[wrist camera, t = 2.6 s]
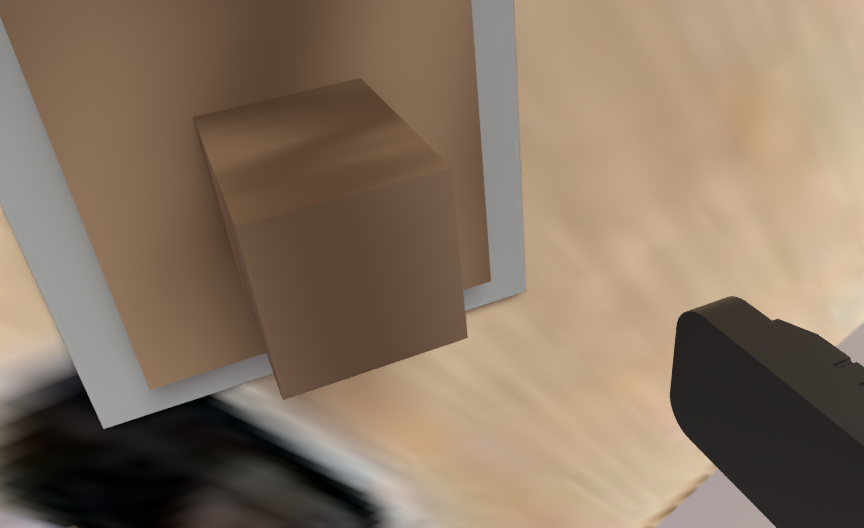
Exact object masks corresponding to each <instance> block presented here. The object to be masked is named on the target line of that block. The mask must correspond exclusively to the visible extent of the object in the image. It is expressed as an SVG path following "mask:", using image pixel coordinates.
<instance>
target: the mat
mask: <svg viewBox="0 0 864 528" xmlns="http://www.w3.org/2000/svg"><path fill="white" fill-rule="evenodd" d="M471 3H472V17H473V31H474V45H475V60H476V74H477V88H478V102H479V116H480V130H481V145H482V159H483V173H484V187H485V201H486V215H487V229H488V244H489V258H490V272H491V281H490V282H487V283H484V284H481V285H478V286H475V287H472V288H468V289H465V290H463V295H464V305H465V311H467V310H470V309H473V308H476V307H479V306H482V305H485V304H488V303H491V302H494V301H497V300H500V299H503V298H507V297H510V296H513V295H516V294H519V293H522V292H525V291H526V287H525V263H524V239H523V215H522V191H521V167H520V142H519V118H518V94H517V70H516V46H515V22H514V0H471ZM0 205H1V207H2V209H3V211H4V213H5V216H6V218H7V220H8V222H9V224H10V226H11V229H12V231H13V233H14V235H15V237H16V239H17V242H18V244H19V246H20V248H21V250H22V252H23V255H24V257H25V259H26V261H27V263H28V266H29V268H30V270H31V272H32V274H33V276H34V279H35V281H36V283H37V285H38V287H39V289H40V292H41V294H42V296H43V298H44V300H45V302H46V305H47V307H48V309H49V311H50V313H51V315H52V318H53V320H54V322H55V324H56V326H57V328H58V331H59V333H60V335H61V337H62V339H63V342H64V344H65V346H66V348H67V350H68V352H69V355H70V357H71V359H72V361H73V363H74V365H75V368H76V370H77V372H78V374H79V376H80V378H81V381H82V383H83V385H84V387H85V389H86V391H87V394H88V396H89V398H90V400H91V402H92V404H93V407H94V409H95V411H96V413H97V415H98V418H99V420H100V422H101V424H102V426H103V428H104V429H105V428H108V427H111V426H114V425H118V424H121V423H124V422H127V421H130V420H133V419H136V418H139V417H142V416H145V415H148V414H151V413H154V412H157V411H160V410H163V409H167V408H170V407H173V406H176V405H179V404H182V403H185V402H188V401H191V400H194V399H197V398H200V397H203V396H206V395H209V394H212V393H216V392H219V391H222V390H225V389H228V388H231V387H234V386H237V385H240V384H243V383H246V382H249V381H252V380H255V379H258V378H262V377H265V376H268V375H271V374H274V373H273V370H272V367H271V365H270V362H269V359H268V356H267V353H265V354H261V355H258V356H255V357H252V358H249V359H246V360H243V361H239V362H236V363H233V364H230V365H227V366H224V367H221V368H217V369H214V370H211V371H208V372H205V373H202V374H199V375H195V376H192V377H189V378H186V379H183V380H180V381H177V382H174V383H170V384H167V385H164V386H161V387H158V388H155V389H152V390H149V387H148V385H147V382H146V380H145V377H144V375H143V372H142V370H141V367H140V365H139V362H138V360H137V357H136V355H135V352H134V350H133V347H132V345H131V342H130V340H129V337H128V335H127V332H126V330H125V327H124V325H123V322H122V320H121V317H120V315H119V312H118V310H117V307H116V305H115V302H114V300H113V297H112V295H111V292H110V290H109V287H108V285H107V282H106V280H105V277H104V275H103V272H102V270H101V267H100V265H99V262H98V260H97V257H96V255H95V252H94V250H93V247H92V245H91V242H90V240H89V237H88V235H87V232H86V230H85V227H84V225H83V222H82V220H81V217H80V215H79V212H78V210H77V207H76V205H75V202H74V200H73V197H72V195H71V192H70V190H69V187H68V185H67V182H66V180H65V177H64V175H63V172H62V170H61V167H60V165H59V162H58V160H57V157H56V155H55V152H54V150H53V147H52V145H51V142H50V140H49V137H48V135H47V132H46V130H45V127H44V125H43V122H42V120H41V117H40V115H39V112H38V110H37V107H36V105H35V102H34V100H33V97H32V95H31V92H30V90H29V87H28V85H27V82H26V80H25V77H24V75H23V72H22V70H21V67H20V65H19V62H18V60H17V57H16V55H15V52H14V50H13V47H12V45H11V42H10V40H9V37H8V35H7V32H6V30H5V27H4V25H3V22H2V20H1V17H0Z"/></svg>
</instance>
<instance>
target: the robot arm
mask: <svg viewBox="0 0 864 528" xmlns="http://www.w3.org/2000/svg"><path fill="white" fill-rule="evenodd" d="M670 401H671V406H672V410H673V413H674V416H675V418H676V420H677V422H678V424H679V426H680V428H681V429H682V431H683V432H684V433H685V435H686V436H687V437H688V438H689V439H690V440H691V441H692V442H693V443H694V444H695V445H696V446H697V447H698V448H699V449H700V450H701V451H702V452H703V453H704V454H705V455H706V456H707V457H708V458H709V459H710V460H711V461H712V462H713V464H714V465H715V466H716V467H717V468H718V469H719V470H721V472H722V473H723V474H724V475H725V476H726V477H727V478H728V479H729V480H730V481H731V482H732V483H733V484H734V485H735V486H736V487H737V488H738V489H739V490H740V491H741V492H742V493H743V494H744V495H745V496H746V497H747V498H748V499H749V500H750V501H751V502H752V503H753V504H754V505H755V506H756V507H757V508H758V509H759V510H760V511H761V512H762V513H763V514H764V515H765V516H766V517H767V518H768V519H769V520H770V521H771V522H772V523H773V524H774V525H775V527H776V528H864V367H863V366H862V365H860V364H859V363H857V362H856V363H852V362H851V360H850V357H849V356H847V355H846V354H845V353H843V352H842V351H840V350H839V349H838V348H836V347H835V346H833V345H832V344H830V343H829V342H828V341H826V340H825V339H823V338H822V337H821V336H819V335H818V334H815V333H813V332H810V331H808V330H805V329H802V328H800V327H797V326H795V325H792V324H790V323H787V322H785V321H782V320H779V319H776V320H773V321H772V320H770V319H769V318H768V317H766V316H765V315H764V314H762V313H761V312H759V311H758V310H757V309H755V308H754V307H753V306H751V305H750V304H749V303H747V302H746V301H744V300H743V299H741V298H738V297H734V296H731V297H726V298H724V299H721V300H718V301H715V302H712V303H709V304H707V305H704V306H701V307H698V308H695V309H693V310H690V311H687V312H684V313H683V314H682V315H681V316H680V317H679V319H678V322H677V327H676V337H675V348H674V358H673V368H672V378H671V388H670ZM69 528H77V527H76V526H71V527H69Z"/></svg>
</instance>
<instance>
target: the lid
mask: <svg viewBox="0 0 864 528" xmlns="http://www.w3.org/2000/svg"><path fill="white" fill-rule="evenodd" d="M0 17H1V20H2V22H3V25H4V27H5V30H6V32H7V35H8V37H9V40H10V42H11V45H12V47H13V50H14V52H15V55H16V57H17V60H18V62H19V65H20V67H21V70H22V72H23V75H24V77H25V80H26V82H27V85H28V87H29V90H30V92H31V95H32V97H33V100H34V102H35V105H36V107H37V110H38V112H39V115H40V117H41V120H42V122H43V125H44V127H45V130H46V132H47V135H48V137H49V140H50V142H51V145H52V147H53V150H54V152H55V155H56V157H57V160H58V162H59V165H60V167H61V170H62V172H63V175H64V177H65V180H66V182H67V185H68V187H69V190H70V192H71V195H72V197H73V200H74V202H75V205H76V207H77V210H78V212H79V215H80V217H81V220H82V222H83V225H84V227H85V230H86V232H87V235H88V237H89V240H90V242H91V245H92V247H93V250H94V252H95V255H96V257H97V260H98V262H99V265H100V267H101V270H102V272H103V275H104V277H105V280H106V282H107V285H108V287H109V290H110V292H111V295H112V297H113V300H114V302H115V305H116V307H117V310H118V312H119V315H120V317H121V320H122V322H123V325H124V327H125V330H126V332H127V335H128V337H129V340H130V342H131V345H132V347H133V350H134V352H135V355H136V357H137V360H138V362H139V365H140V367H141V370H142V372H143V375H144V377H145V380H146V382H147V385H148V387H149V390H152V389H155V388H158V387H161V386H164V385H167V384H170V383H174V382H177V381H180V380H183V379H186V378H189V377H192V376H195V375H199V374H202V373H205V372H208V371H211V370H214V369H217V368H221V367H224V366H227V365H230V364H233V363H236V362H239V361H243V360H246V359H249V358H252V357H255V356H258V355H261V354H265V353H267V356H268V359H269V362H270V365H271V367H272V370H273V373H274V376H275V379H276V381H277V384H278V387H279V390H280V393H281V395H282V398H283V400H284V399H287V398H290V397H293V396H296V395H299V394H302V393H305V392H308V391H311V390H314V389H317V388H320V387H323V386H326V385H329V384H332V383H335V382H338V381H341V380H344V379H347V378H350V377H353V376H356V375H358V374H361V373H364V372H367V371H370V370H373V369H376V368H379V367H382V366H385V365H388V364H391V363H394V362H397V361H400V360H403V359H406V358H409V357H412V356H415V355H418V354H421V353H424V352H427V351H430V350H433V349H436V348H439V347H442V346H445V345H448V344H451V343H454V342H457V341H460V340H463V339H465V338H468V337H467V326H466V316H465V305H464V295H463V290H465V289H468V288H472V287H475V286H478V285H481V284H484V283H487V282H490V281H491V272H490V258H489V244H488V229H487V215H486V201H485V187H484V173H483V159H482V145H481V130H480V116H479V102H478V88H477V74H476V60H475V45H474V31H473V17H472V3H471V0H0Z"/></svg>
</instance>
